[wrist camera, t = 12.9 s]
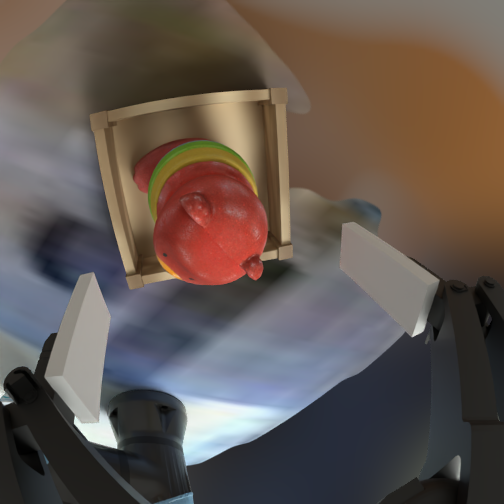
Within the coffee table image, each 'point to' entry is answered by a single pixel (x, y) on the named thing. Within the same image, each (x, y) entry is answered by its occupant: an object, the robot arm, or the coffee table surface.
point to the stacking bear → (203, 211)
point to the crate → (192, 126)
